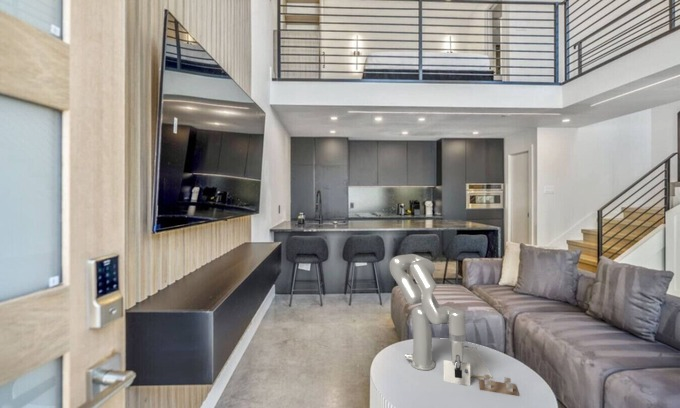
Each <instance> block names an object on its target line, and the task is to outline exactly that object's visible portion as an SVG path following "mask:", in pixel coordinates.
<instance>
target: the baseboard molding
mask: <svg viewBox="0 0 680 408" xmlns="http://www.w3.org/2000/svg"><path fill="white" fill-rule="evenodd" d="M463 363H468V364H470V378H478V379H484V374H486V375H490V379H493V376H492V374H491V372H490V370H489V368H488V367H487V365H486V363H485V361H484V360H483V358H482V355H480V353H479V351H478V350H477V348H471V347H469V346H467V345H466V346H464V347H463Z"/></svg>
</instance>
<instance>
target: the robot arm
mask: <svg viewBox="0 0 680 408" xmlns="http://www.w3.org/2000/svg"><path fill="white" fill-rule="evenodd" d="M388 266H389V272H390V274H391V276H392V278H393V280H394V281H395V282H396V284H397V286H398V288H399V290H400V292H401V293H402V295H403V297H404V298H405V301H406V302H407V303H408V304H409V305H416V306H414V307H413V309H412V310H411V320H412V321H411V322H412V327H413V328H412V331H413V333H412V335H413V336H412V338H413V339H412V340H413V342H412V343H413V344H412V346H413V347H412V349H413V352H412V354H409V353H405V354H404V358H406V360H408V361H410V363H409V364H410V366H411V367H413V368H414V369H415V370H416V369H417V370H420V371H430V370H433V369H434V368H436V367H435V366H436V365H435V364H436V363H435V361H434V360H433V355H432V354H433V332H432V328H431V325H430V323H431V324H433V325H435V326H439V325H442V324H445V323H446V324H447V323H448V340H449V341H450V344H451V345H450V346H451V347H450V348H451V361H452V363H455V378H462V369H461V364H462V363H463V349H464V343H465V342H466V341H467V338H466V314H465V312H464V311H463V310H460V309H455V308H453V307H451V306H449V305H443V306H440V303H439V302H438V300H437V299H436V297H435V295H434V293H433V292H434V291H435V290H436V289H437V283H436V282H435V280H434V278H433V277H432V274H434V272H435V270H436V267H435V264H434V262H432V261H431V260H430V259H428V258H426V257H423V256H420V255H418V254H416V253H415V254H414V253H408V254H400V255H395V256H394V257H392V258H391V259H390V261H389V265H388ZM407 270H410V273H411V274H412V276H411V275H410V274H408V273H407V272H406V271H407ZM412 277H413V278H412ZM414 280H415V282H416V283H415V282H414ZM456 364H457V365H456ZM459 364H460V365H459Z"/></svg>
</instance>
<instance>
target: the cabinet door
mask: <svg viewBox="0 0 680 408" xmlns="http://www.w3.org/2000/svg"><path fill="white" fill-rule="evenodd" d="M456 365H457V364H456ZM459 365H460V364H459ZM461 369H462V378H455V363H452V360H446V359H444V360H443V382H447V383H450V384H451V383H452V384H457V385H458V384H459V385H464V386H471V377H470V364H468V363H462V364H461Z"/></svg>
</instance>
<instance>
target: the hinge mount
mask: <svg viewBox="0 0 680 408" xmlns="http://www.w3.org/2000/svg"><path fill="white" fill-rule="evenodd" d="M490 379H491V378H490V375H486V374H484V378H478V387H479V390H480V391H485V392H492V393H498V394H502V395H503V394H505V395H510V396H516V397H519V395H520V394H519V391H518V389H517V386H516V385H517V384H514V383H512V378H510V377H504V380H503V381H504V382H501V381H495V380H490Z"/></svg>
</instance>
